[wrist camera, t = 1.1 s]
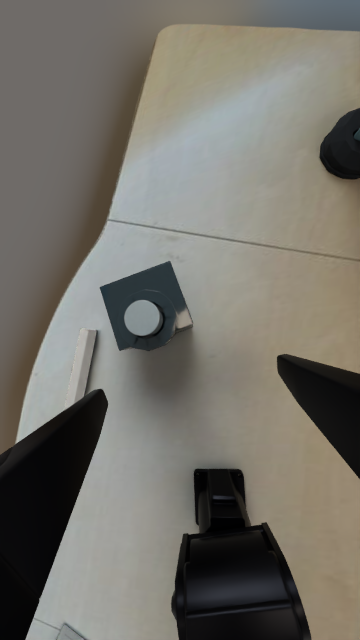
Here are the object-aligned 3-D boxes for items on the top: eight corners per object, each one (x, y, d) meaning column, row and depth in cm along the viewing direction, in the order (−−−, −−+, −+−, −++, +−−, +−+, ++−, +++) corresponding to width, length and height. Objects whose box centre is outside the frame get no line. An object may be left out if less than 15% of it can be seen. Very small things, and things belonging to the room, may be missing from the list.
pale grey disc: (167, 329, 18) (164, 328, 16) (137, 340, 18) (130, 340, 16) (157, 299, 18) (152, 294, 16) (127, 310, 18) (119, 307, 16)
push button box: (195, 334, 25) (197, 333, 17) (139, 354, 25) (115, 363, 17) (175, 278, 26) (167, 252, 18) (120, 298, 26) (90, 282, 18)
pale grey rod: (73, 434, 25) (93, 329, 27) (80, 441, 24) (100, 330, 26) (53, 442, 23) (75, 327, 25) (59, 450, 22) (82, 328, 23)
